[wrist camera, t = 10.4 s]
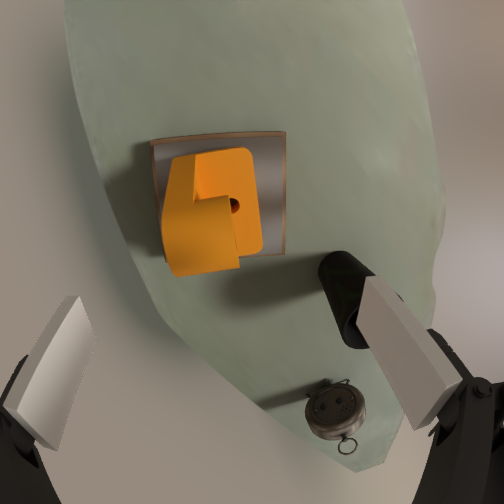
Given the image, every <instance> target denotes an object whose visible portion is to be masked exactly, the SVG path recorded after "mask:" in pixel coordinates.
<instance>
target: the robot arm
mask: <svg viewBox="0 0 504 504" xmlns="http://www.w3.org/2000/svg"><path fill="white" fill-rule="evenodd" d="M356 325H357V326H358V328H359V330H360V331H361V333H362V335H363V337H364V338H365V340H366V342H367V344H368V345H369V347H370V349H371V351H372V352H373V354H374V356H375V358H376V360H377V361H378V363H379V365H380V367H381V369H382V370H383V372H384V374H385V376H386V378H387V380H388V381H389V383H390V385H391V387H392V389H393V391H394V393H395V395H396V396H397V398H398V400H399V402H400V404H401V406H402V408H403V410H404V412H405V414H406V416H407V418H408V420H409V422H410V424H411V426H412V428H413V430H414V431H415V430H417V429H419V428H422V427H424V426H427V425H429V424H430V423H431V422H432V421H433V419H434V418H435V417H436V416H437V417H438V419H439V422H438V423H437V424H436V426H435V427H434V428H433V429H432V430H431V431H430V433H429V435H428V436H431V435H432V434H433V433H434V432H435V434H434V438H433V442H432V446H431V449H430V453H429V457H428V460H427V463H426V466H425V469H424V472H423V475H422V478H421V481H420V484H419V487H418V490H417V492H416V495H415V498H414V500H413V502H412V504H504V426H503V422H504V382H501V383H494V384H491V383H490V382H489V381H488V380H486V379H484V378H481V377H475V378H474V377H473V376H472V375H471V373H470V372H469V371H468V369H467V368H466V367H465V366H464V364H463V363H462V361H461V360H460V359H459V357H458V356H457V355H456V353H455V352H453V349H452V348H451V347H450V346H448V343H447V342H446V341H445V339H444V338H443V337H442V336H441V335H440V334H439V333H437V332H436V331H434V330H433V329H428V330H426V329H425V328H424V327H423V325H422V324H421V323H420V322H419V320H418V319H417V318H416V317H415V316H414V314H413V313H412V312H411V311H410V309H409V308H408V307H407V306H406V305H405V303H404V302H403V301H402V300H401V299H400V298H399V296H398V295H397V294H396V293H395V292H394V291H393V289H392V288H391V287H390V286H389V285H388V284H387V283H386V281H385V280H384V279H383V278H382V277H381V276H380V275H378V276H370V277H366V280H365V285H364V290H363V295H362V299H361V304H360V308H359V313H358V317H357V321H356ZM96 343H97V338H96V336H95V333H94V331H93V329H92V327H91V324H90V322H89V319H88V317H87V315H86V312H85V310H84V307H83V304H82V302H81V299H80V296H66V298H65V299H64V301H63V302H62V303H61V305H60V306H59V308H58V309H57V311H56V312H55V314H54V315H53V317H52V318H51V320H50V321H49V323H48V324H47V326H46V328H45V329H44V331H43V332H42V334H41V335H40V337H39V339H38V340H37V342H36V344H35V345H34V347H33V349H32V350H31V352H30V354H29V355H26V356H25V357H24V358H23V359H22V360H21V361H20V362H19V363H18V365H17V367H16V369H15V370H14V373H13V374H12V376H11V378H10V380H9V382H8V383H7V386H6V388H5V389H4V391H3V393H2V395H1V398H0V504H61V502H60V500H59V498H58V496H57V494H56V492H55V490H54V488H53V486H52V484H51V481H50V479H49V477H48V475H47V472H46V470H45V467H44V465H43V462H42V460H41V457H40V455H39V452H38V449H37V448H36V446H35V445H34V442H35V440H36V441H38V442H39V443H40V444H41V445H42V446H43V447H46V448H49V449H52V450H55V451H58V448H59V445H60V441H61V438H62V435H63V431H64V428H65V425H66V422H67V418H68V415H69V413H70V409H71V407H72V404H73V401H74V398H75V395H76V393H77V390H78V387H79V385H80V382H81V379H82V377H83V374H84V372H85V369H86V367H87V364H88V362H89V359H90V357H91V354H92V352H93V349H94V347H95V345H96Z"/></svg>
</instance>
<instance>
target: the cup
mask: <svg viewBox="0 0 504 504" xmlns="http://www.w3.org/2000/svg"><path fill="white" fill-rule="evenodd" d="M318 275H319V278H320V281H321V283H322V286H323V289H324V291H325V294H326V296H327V299H328V301H329V304H330V307H331V309H332V312H333V315H334V317H335V320H336V323H337V325H338V328H339V331H340V334H341V336H342V339H343V341H344V343H345V344H346V345H348V346H349V347H351V348H354V349H367V348H370V347H369V345H368V344H367V342H366V340H365V338H364V337H363V335H362V333H361V331H360V330H359V328H358V326H357V325H356V321H357V317H358V313H359V308H360V304H361V299H362V295H363V290H364V285H365V280H366V277H370V276H376V275H375V274H374V273H373V272H371V271H370V270H369V269H368V268H367V267H366V266H364V265H363V264H362V263H361V262H360V261H358V260H357V259H356V258H355V257H354V256H352V255H351V254H350V253H348V252H346V251H335V252H333V253H330V254H329V255H327V256H326V257H325V258H324V259H323V260H322V262H321V264H320V266H319V269H318ZM395 293H396V292H395ZM396 294H397V293H396ZM397 295H398V294H397ZM398 296H399V295H398ZM399 298H400V299H401V300H402V298H401V297H400V296H399ZM402 301H403V300H402Z"/></svg>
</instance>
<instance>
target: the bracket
mask: <svg viewBox="0 0 504 504" xmlns="http://www.w3.org/2000/svg"><path fill="white" fill-rule="evenodd" d="M229 198H234V199H236V200H238V202H237V203H236V204H235V205H233V206H230V200H229ZM162 237H163V244H164V249H165V254H166V258H167V261H168V264H169V267H170V269H171V271H172V273H173V274H174V276H176V277H182V276H188V275H195V274H202V273H208V272H215V271H222V270H228V269H234V268H240V266H239V258H238V256H244V255H251V254H256V253H258V252H260V251H261V249H262V247H263V239H262V230H261V222H260V214H259V205H258V197H257V189H256V181H255V173H254V165H253V157H252V154H251V152H250V151H249V150H248V149H247V148H245V147H242V146H238V147H231V148H224V149H218V150H212V151H206V152H200V153H195V154H189V155H184V156H179V157H175V158H174V159H173V160H172V164H171V169H170V174H169V179H168V184H167V190H166V195H165V201H164V206H163V212H162Z"/></svg>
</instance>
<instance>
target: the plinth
mask: <svg viewBox="0 0 504 504" xmlns="http://www.w3.org/2000/svg"><path fill="white" fill-rule="evenodd" d="M238 146H242V147H245V148H247V149H248V150H249V151H250V152H251V154H252V157H253V165H254V173H255V181H256V189H257V197H258V205H259V214H260V222H261V230H262V239H263V247H262V249H261V251H260V252H258V253H256V254H251V255H244V256H238V258H242V257H257V256H271V255H285V229H286V132H282V131H263V132H232V133H215V134H202V135H191V136H181V137H172V138H163V139H156V140H151V141H150V149H151V160H152V170H153V180H154V188H155V197H156V204H157V212H158V219H159V226H160V232H161V239H162V245H163V251H164V257H165V262H166V263H168V261H167V258H166V254H165V249H164V244H163V237H162V212H163V206H164V201H165V195H166V190H167V184H168V179H169V174H170V169H171V164H172V160H173V159H174V158H175V157H179V156H184V155H189V154H195V153H200V152H206V151H212V150H218V149H224V148H231V147H238ZM229 200H230V206H233V205H235V204H236V203H237V202H238V200H236V199H234V198H229Z"/></svg>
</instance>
